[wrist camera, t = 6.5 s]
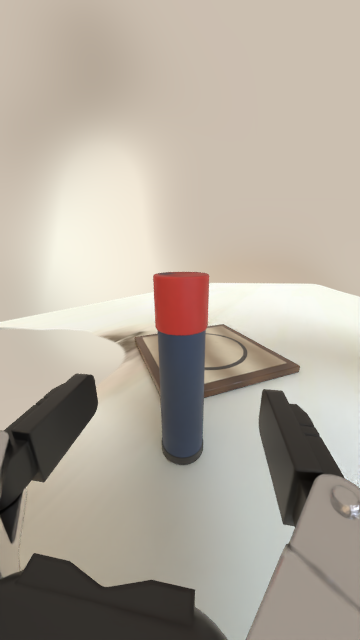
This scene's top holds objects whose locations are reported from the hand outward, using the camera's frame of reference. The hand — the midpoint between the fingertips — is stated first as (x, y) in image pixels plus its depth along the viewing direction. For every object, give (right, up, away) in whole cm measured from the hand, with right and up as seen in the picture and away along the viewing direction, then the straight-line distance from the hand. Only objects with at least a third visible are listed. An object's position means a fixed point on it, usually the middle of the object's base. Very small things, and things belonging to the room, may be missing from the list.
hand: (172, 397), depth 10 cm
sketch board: (+4, -1, +18) cm, 19 cm away
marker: (+1, -5, +5) cm, 7 cm away
